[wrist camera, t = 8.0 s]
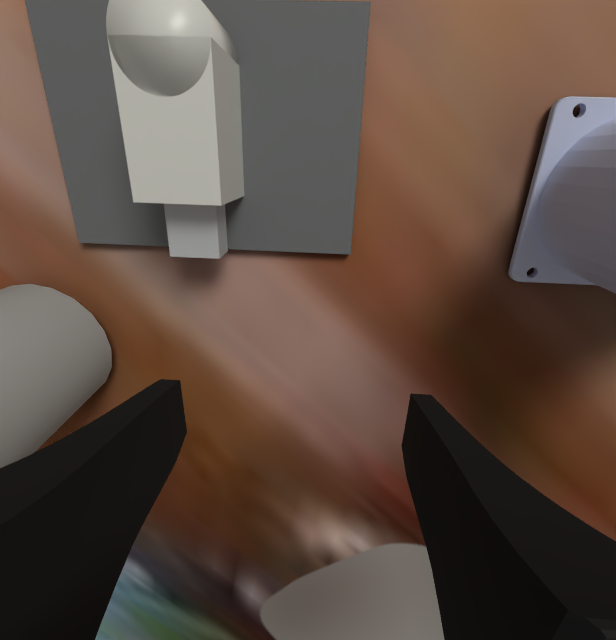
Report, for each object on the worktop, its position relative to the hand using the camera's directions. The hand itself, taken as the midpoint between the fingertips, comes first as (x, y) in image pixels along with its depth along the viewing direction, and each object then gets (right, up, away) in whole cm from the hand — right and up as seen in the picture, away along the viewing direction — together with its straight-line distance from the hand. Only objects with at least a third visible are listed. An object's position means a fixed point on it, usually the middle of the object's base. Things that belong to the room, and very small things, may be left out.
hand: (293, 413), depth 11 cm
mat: (-4, +11, +6) cm, 13 cm away
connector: (-4, +11, +5) cm, 13 cm away
